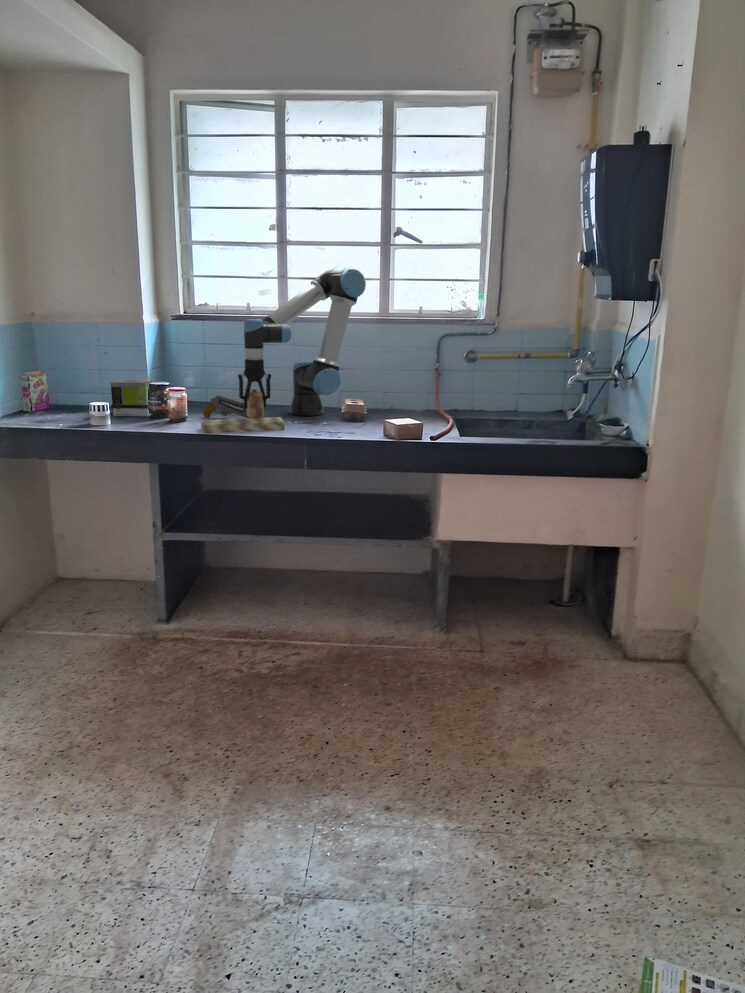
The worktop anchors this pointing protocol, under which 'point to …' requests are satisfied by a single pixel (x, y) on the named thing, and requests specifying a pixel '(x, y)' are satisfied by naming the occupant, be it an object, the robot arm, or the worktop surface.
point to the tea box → (130, 397)
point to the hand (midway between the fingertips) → (255, 415)
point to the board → (242, 425)
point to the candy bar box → (34, 391)
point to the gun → (225, 406)
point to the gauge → (255, 404)
